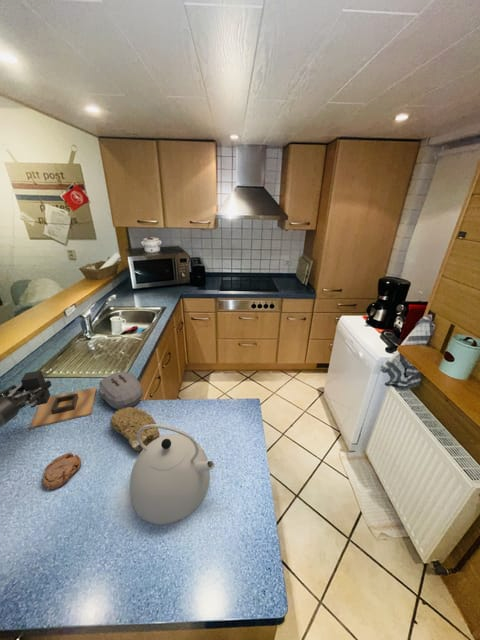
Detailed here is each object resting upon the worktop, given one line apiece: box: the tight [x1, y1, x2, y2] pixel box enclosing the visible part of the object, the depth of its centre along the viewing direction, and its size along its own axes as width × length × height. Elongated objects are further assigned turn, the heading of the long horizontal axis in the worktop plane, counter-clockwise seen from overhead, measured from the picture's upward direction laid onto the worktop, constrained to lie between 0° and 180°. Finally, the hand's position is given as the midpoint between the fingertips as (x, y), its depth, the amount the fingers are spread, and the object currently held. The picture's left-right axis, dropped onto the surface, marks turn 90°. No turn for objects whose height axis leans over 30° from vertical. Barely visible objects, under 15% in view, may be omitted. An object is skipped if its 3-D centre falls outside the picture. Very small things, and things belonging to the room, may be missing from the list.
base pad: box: [28, 387, 97, 430], centre depth 101 cm, size 20×16×3 cm
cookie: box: [42, 452, 82, 490], centre depth 76 cm, size 10×11×3 cm
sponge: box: [109, 406, 161, 451], centre depth 89 cm, size 13×8×20 cm
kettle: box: [129, 423, 216, 525], centre depth 70 cm, size 25×23×22 cm
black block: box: [20, 370, 51, 406], centre depth 86 cm, size 4×4×11 cm
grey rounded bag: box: [98, 370, 144, 411], centre depth 106 cm, size 15×8×20 cm
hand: (41, 381), depth 88 cm, fingers closed on black block, 6 cm apart
